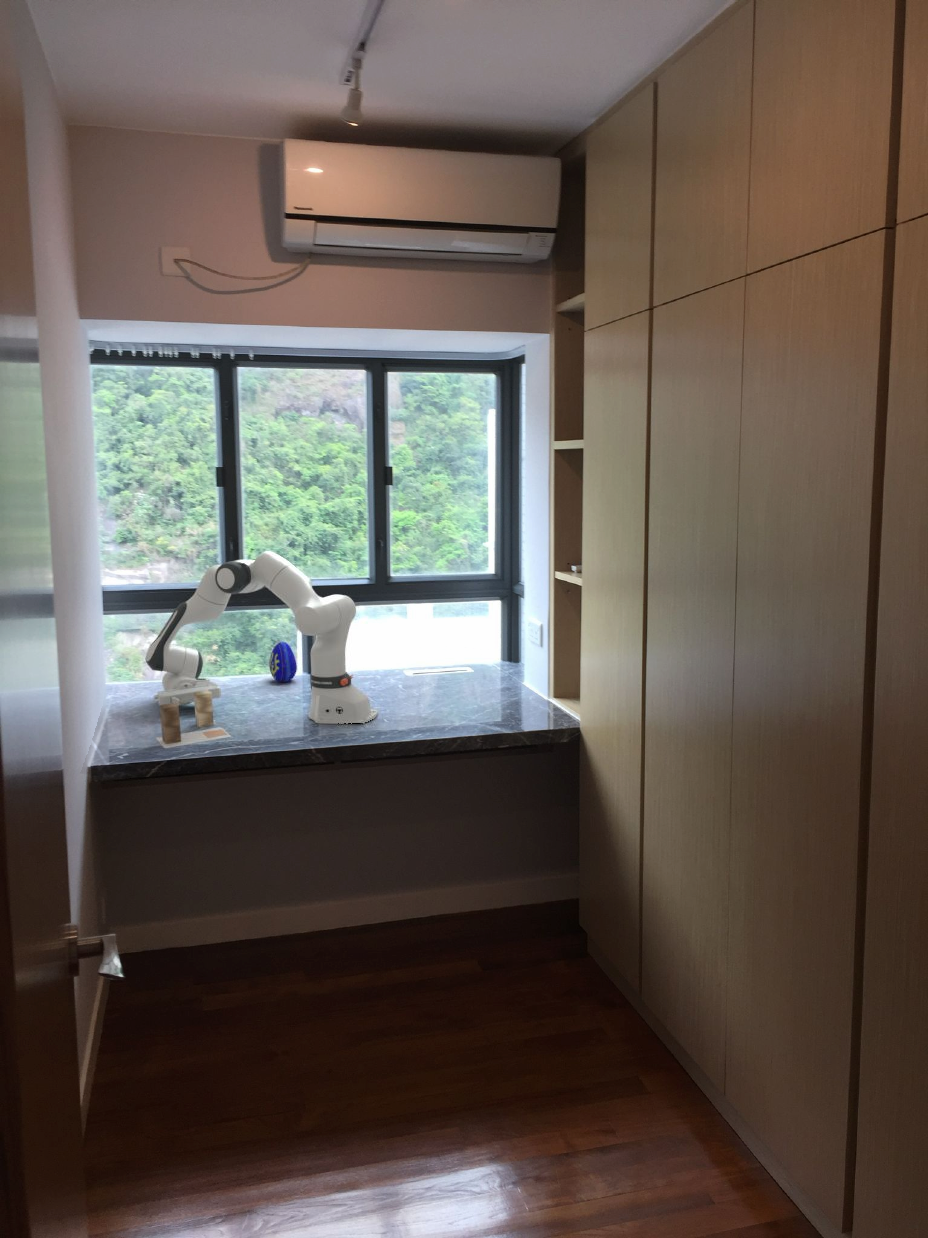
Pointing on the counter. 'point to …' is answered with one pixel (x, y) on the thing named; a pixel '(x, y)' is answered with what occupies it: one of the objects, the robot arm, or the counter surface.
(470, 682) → the counter surface
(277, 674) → the ornament
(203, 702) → the birch pillar
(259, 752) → the counter surface
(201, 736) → the white mat
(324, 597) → the robot arm
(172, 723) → the walnut pillar
